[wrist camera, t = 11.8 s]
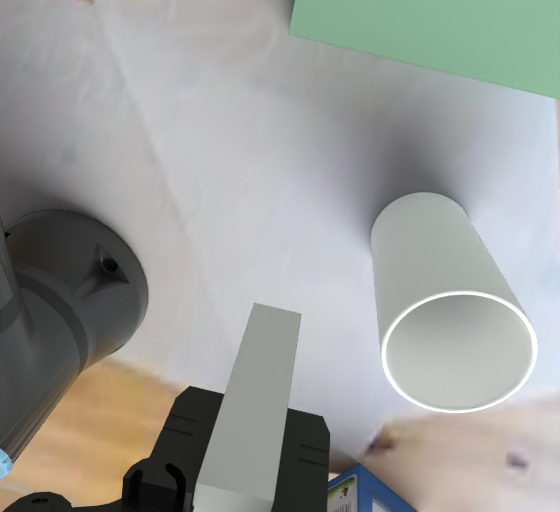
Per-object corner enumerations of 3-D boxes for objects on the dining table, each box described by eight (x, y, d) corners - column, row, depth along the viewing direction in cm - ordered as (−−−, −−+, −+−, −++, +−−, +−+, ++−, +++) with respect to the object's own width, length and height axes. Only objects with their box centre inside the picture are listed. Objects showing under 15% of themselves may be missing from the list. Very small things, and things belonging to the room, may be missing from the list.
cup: (408, 173, 39) (441, 262, 25) (493, 224, 40) (573, 339, 25) (352, 252, 42) (352, 371, 28) (431, 297, 43) (471, 434, 29)
